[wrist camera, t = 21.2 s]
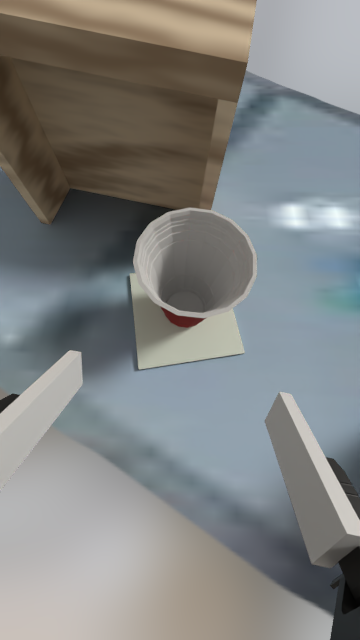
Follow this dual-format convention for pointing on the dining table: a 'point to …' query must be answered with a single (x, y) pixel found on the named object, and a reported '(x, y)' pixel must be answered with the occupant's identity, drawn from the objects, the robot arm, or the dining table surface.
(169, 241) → the plastic cup
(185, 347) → the mat
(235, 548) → the dining table surface
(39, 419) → the robot arm
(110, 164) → the oak cabinet
